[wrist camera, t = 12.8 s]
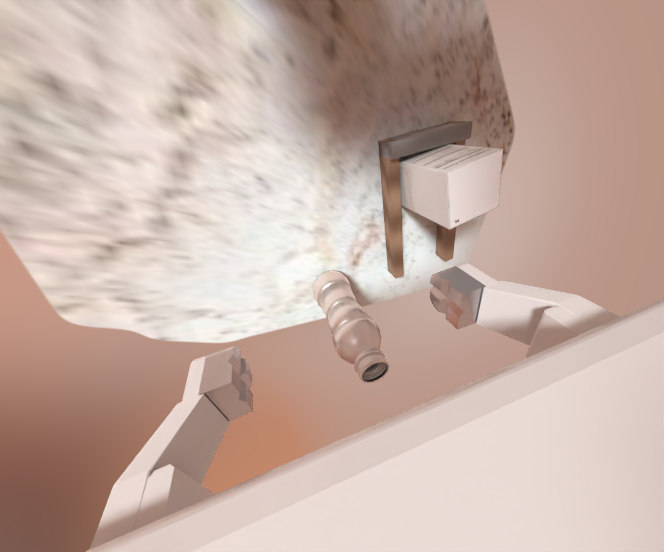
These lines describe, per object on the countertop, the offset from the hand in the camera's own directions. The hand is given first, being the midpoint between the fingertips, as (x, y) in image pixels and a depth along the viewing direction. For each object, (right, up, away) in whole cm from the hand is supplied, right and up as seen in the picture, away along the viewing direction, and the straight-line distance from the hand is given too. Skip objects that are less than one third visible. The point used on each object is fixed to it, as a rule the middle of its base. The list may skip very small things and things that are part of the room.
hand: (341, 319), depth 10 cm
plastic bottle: (-1, +1, +35) cm, 35 cm away
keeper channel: (+14, +14, +32) cm, 38 cm away
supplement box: (+13, +18, +29) cm, 37 cm away
